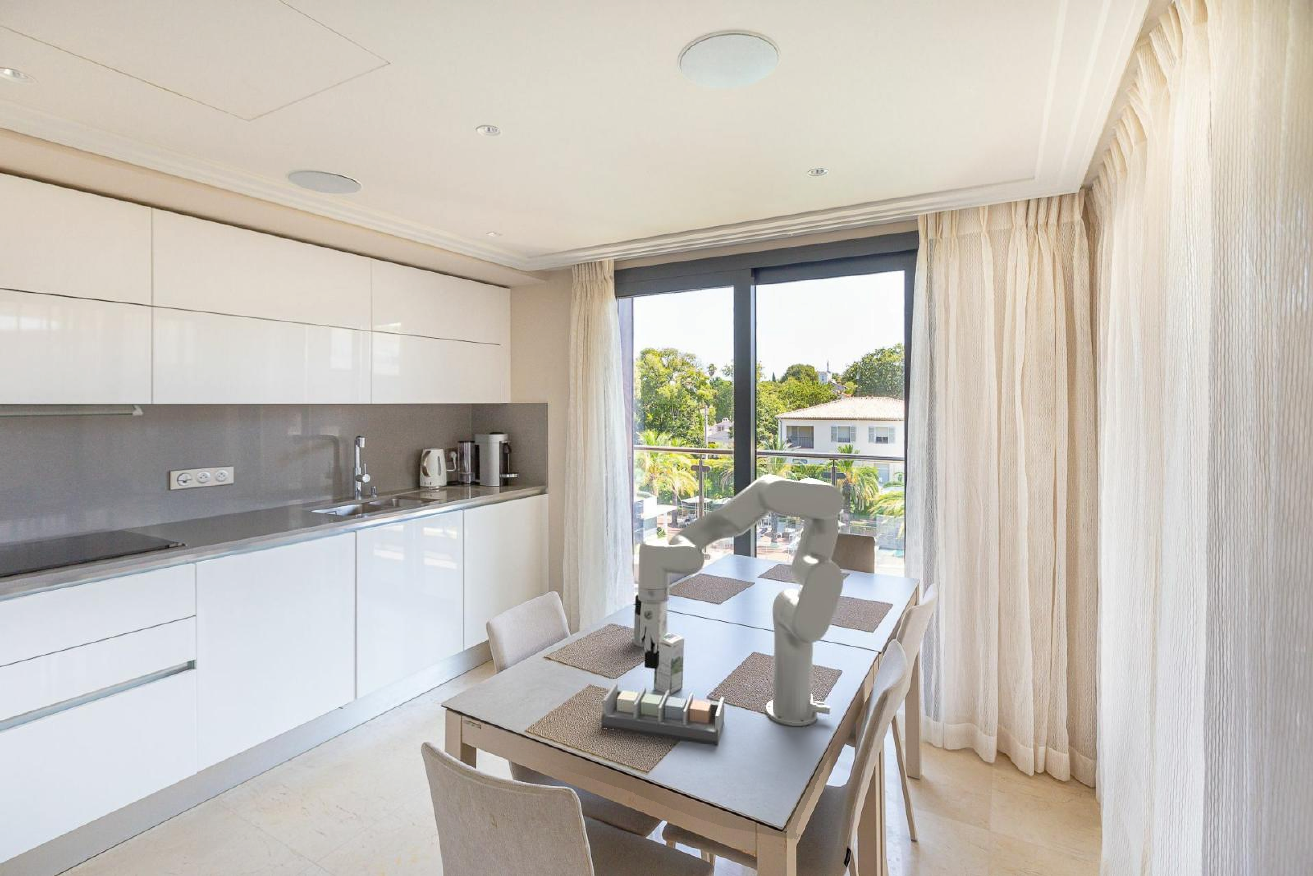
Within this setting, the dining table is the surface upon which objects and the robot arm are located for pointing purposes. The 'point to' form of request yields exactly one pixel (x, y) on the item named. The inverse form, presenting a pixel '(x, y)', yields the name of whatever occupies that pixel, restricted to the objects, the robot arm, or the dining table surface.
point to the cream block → (626, 701)
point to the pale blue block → (675, 708)
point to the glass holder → (637, 623)
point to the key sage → (650, 704)
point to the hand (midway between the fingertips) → (651, 666)
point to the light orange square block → (700, 711)
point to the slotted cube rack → (662, 720)
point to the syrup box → (670, 664)
